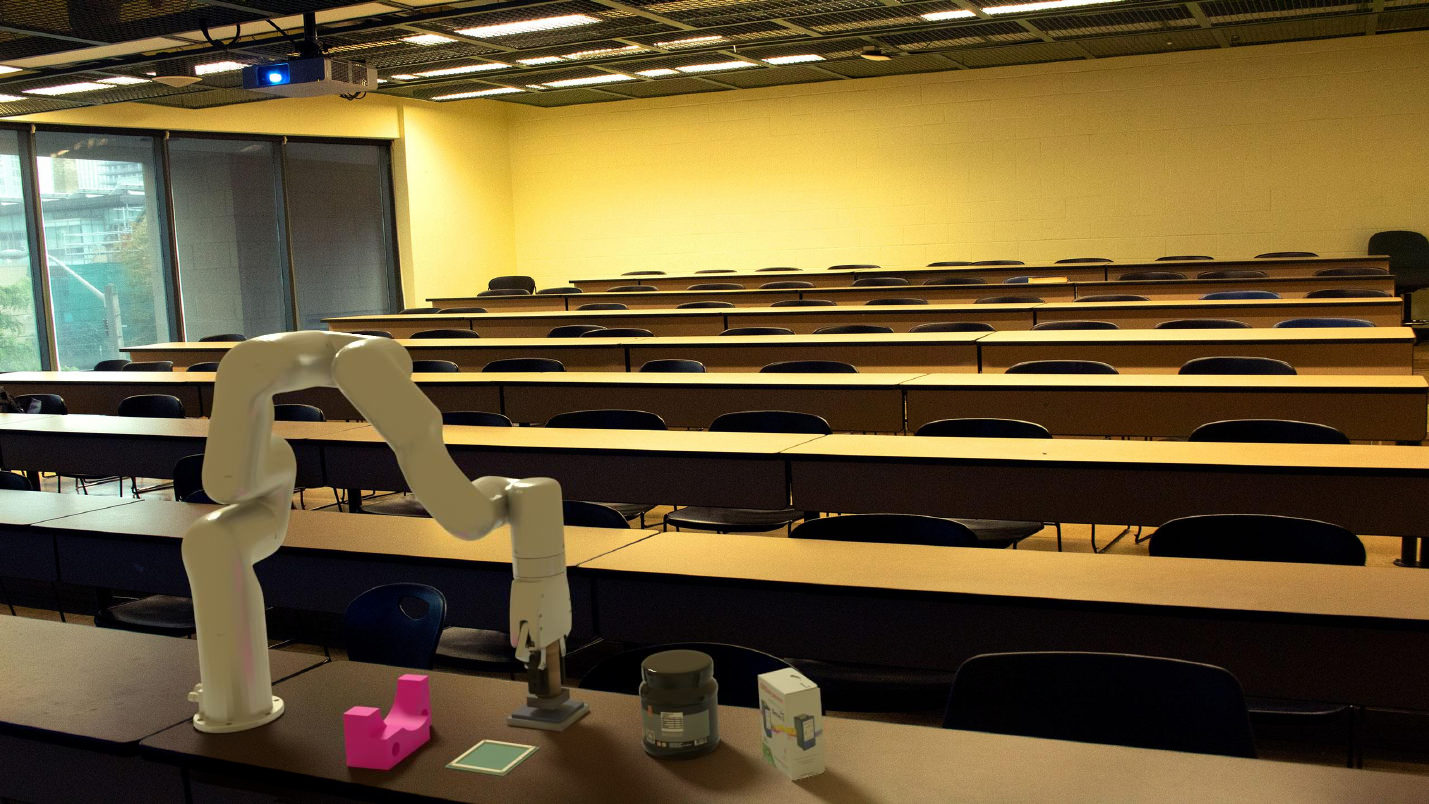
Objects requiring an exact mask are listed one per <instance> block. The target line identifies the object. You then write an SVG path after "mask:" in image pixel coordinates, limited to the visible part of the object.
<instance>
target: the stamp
mask: <svg viewBox="0 0 1429 804" xmlns="http://www.w3.org/2000/svg"><path fill="white" fill-rule="evenodd" d="M532 645H535V643H534V642H532ZM532 654H535V655H536V656H537V657H538V651H532ZM545 667H547V668H548V671H549V687H550V694H548V695H547V696H544V695H535V694H530V693H529V695H527V696H526V703H527V707H533V708H541V709H550V710H555V709H557V708H558V707H559V706H561V705H562V704H563V703H565V702H566V701H567V700H570V699H571V695H570V694H571V693H570V692H571V691H570V688H566V687H565V688H564V687H562V684H561V679H560V663H559V642H558V639H557V640H556V641H554V642H552V643H551V644H549V645H548V646H546V661H545Z"/></svg>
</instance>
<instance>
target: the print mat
mask: <svg viewBox="0 0 1429 804" xmlns="http://www.w3.org/2000/svg"><path fill="white" fill-rule="evenodd" d="M540 749H541V747H540V746H534V745H526V744H520V743H512V742H505V741H499V740H498V741H497V740H491V739H482V740H481V741H479V742H478V743H475V745H473V746H472V747H471V748H469V749H468V750H466V751H465V752H464V753H461V755H459V756H458V757H456V758H455V759H453V760H452V761H450V762H449V763H448V764H446V765H445V766H444V768H445V769H449V770H450V769H451V770H458V771H464V772H472V773H479V774H486V775H493V776H500V777H504V776H506V775H507V774H508V773H510V772H511V771H512V770H514V769H515V768H516V767H518V766H519V765H520V764H522V763H523V762H524V761H525V760H527V759H528V758H529V757H530V756H532V755H533V754H534V753H536V752H537V751H539V750H540Z"/></svg>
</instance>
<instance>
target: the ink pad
mask: <svg viewBox="0 0 1429 804" xmlns="http://www.w3.org/2000/svg"><path fill="white" fill-rule="evenodd" d="M589 711H590V705H589V704H587V703H585V702H584V701H578V700H570V699H569V700H567V701H566V702H565V703H563V704H562V705H561V706H559V707H558V708H557V709H555V710H550V709H541V708H533V707H527V702H526V703H525V704H523V705H521V707H519V708H518V709H515V710H514V711H513V712H512V713H511V714H510V715H509V716H508V717H506V725H507V726H515V727H522V728H531V729H539V730H547V731H555V732H563V731H565V730H566V729H567V728H568V727H570V726H571V725H572V724H573V723H574V724H575V722H576V721H578V720H579V719H580V718H581V717H583V716H584V715H585V714H586V713H588V712H589Z"/></svg>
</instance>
